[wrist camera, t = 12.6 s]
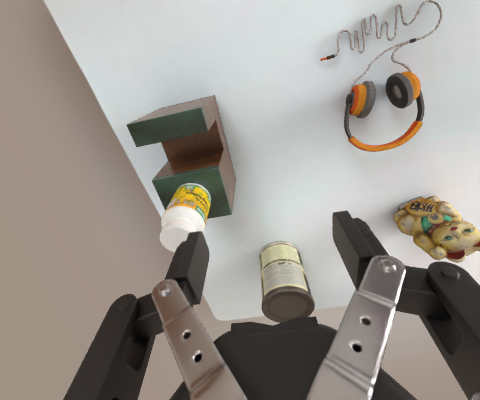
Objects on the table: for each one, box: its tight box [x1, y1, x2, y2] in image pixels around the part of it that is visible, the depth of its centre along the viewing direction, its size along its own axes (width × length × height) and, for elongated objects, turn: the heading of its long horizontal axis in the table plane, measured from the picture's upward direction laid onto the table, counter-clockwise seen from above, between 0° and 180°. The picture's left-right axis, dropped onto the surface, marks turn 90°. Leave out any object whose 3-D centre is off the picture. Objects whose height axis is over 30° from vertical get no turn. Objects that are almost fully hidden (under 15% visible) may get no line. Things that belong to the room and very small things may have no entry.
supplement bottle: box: [160, 183, 211, 252], centre depth 30 cm, size 5×5×10 cm
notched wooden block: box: [127, 95, 236, 219], centre depth 38 cm, size 16×10×13 cm, turn 12°
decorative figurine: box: [394, 196, 480, 263], centre depth 43 cm, size 10×8×15 cm
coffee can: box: [259, 241, 315, 323], centre depth 51 cm, size 10×10×14 cm
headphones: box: [321, 0, 442, 152], centre depth 35 cm, size 17×5×20 cm
